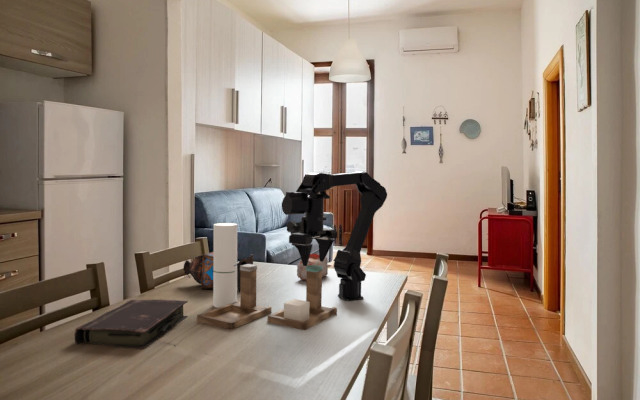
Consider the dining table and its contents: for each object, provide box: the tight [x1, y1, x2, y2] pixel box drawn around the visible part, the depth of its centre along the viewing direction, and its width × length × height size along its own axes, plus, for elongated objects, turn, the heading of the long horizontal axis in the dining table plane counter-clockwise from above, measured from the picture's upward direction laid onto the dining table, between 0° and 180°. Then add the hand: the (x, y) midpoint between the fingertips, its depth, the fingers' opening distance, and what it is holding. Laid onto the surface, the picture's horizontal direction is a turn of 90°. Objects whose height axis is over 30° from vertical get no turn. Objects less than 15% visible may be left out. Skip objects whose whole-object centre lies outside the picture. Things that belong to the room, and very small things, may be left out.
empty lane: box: [196, 264, 272, 330], centre depth 133 cm, size 17×12×14 cm
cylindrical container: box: [212, 222, 238, 309], centre depth 147 cm, size 7×7×25 cm
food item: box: [296, 252, 329, 282], centre depth 185 cm, size 14×8×10 cm, turn 154°
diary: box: [74, 299, 189, 350], centre depth 125 cm, size 19×25×5 cm
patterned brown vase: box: [183, 251, 254, 293], centre depth 170 cm, size 16×16×25 cm
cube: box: [283, 298, 310, 322], centre depth 131 cm, size 5×5×5 cm
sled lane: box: [266, 265, 338, 331], centre depth 133 cm, size 17×12×14 cm
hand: (313, 263), depth 149 cm, fingers open, 9 cm apart
